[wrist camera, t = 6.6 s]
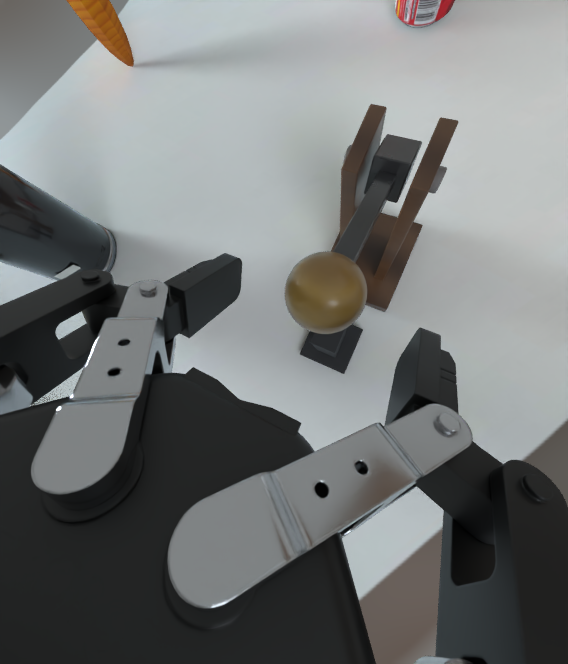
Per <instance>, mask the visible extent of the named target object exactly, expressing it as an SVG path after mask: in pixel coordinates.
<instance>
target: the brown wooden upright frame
mask: <svg viewBox="0 0 568 664" xmlns="http://www.w3.org/2000/svg"><path fill="white" fill-rule="evenodd" d="M385 114H386V107H384V106H378V105H373V104H371V105H370V106H369V109H368V111H367V113H366V115H365V117H364V120H363V122H362V124H361V126H360V129H359V131H358V133H357V135H356V137H355V140H354V142H353V144H352V145H350V146H349V147H348V149H347V151H346V154H345V157H344V161H343V166H342V169H341V210H340V232H339V234H338V236H337V239H336V241H335V243H334V245H333V248H332V250H331V252H333V250H334V249H335V247H336V245H337V243H338V242H339V240H340V238H341V236H342V235H343V233H344V231H345V229H346V228H347V226H348V224H349V222H350V221H351V219H352V217H353V215H354V214H355V212H356V210H357V208H358V207H359V205H360V203H361V201H362V200H363V198H364V196H365V195H366V194H364V191H365V187H366V183H367V179H368V175H369V171H370V168H371V164H372V160H373V156H374V154H375V153H376V151H377V150H378V148H379V145H380V140H381V135H382V129H383V124H384V119H385ZM457 124H458V121H457V120H452V119H446V118H440V119H439V121H438V123H437V126H436V128H435V130H434V133H433V135H432V137H431V140H430V142H429V144H428V147H427V149H426V151H425V154H424V156H423V158H422V160H421V163H420V165H419V167H418V170H417V172H416V174H415V177H414V179H413V181H412V184H411V186H410V188H409V191H408V193H407V196H406V198H405V201H404V203H403V206H402V209H401V211H400V214H399V216H398V218H397V217H393V216H390V215H386V214H383V213H380V215H379V217H378V219H377V221H376V223H375V225H374V227H373V229H372V231H371V233H370V235H369V237H368V239H367V241H366V243H365V245H364V247H363V249H362V251H361V253H360V255H359V257H358V259H357V261H356V264H357V265H358V267H359V268H360V270H361V271H362V273H363V275H364V277H365V280H366V284H367V300H366V304H365V305H367V306H370V307H373V308H375V309H378V310H381V311H383V312H385V311H386V310H387V308H388V306H389V303H390V301H391V299H392V296H393V294H394V291H395V289H396V287H397V284H398V282H399V280H400V277H401V275H402V273H403V270H404V268H405V266H406V263H407V261H408V259H409V256H410V254H411V252H412V249H413V247H414V244H415V242H416V240H417V237H418V235H419V233H420V230H421V228H422V225H421V224H418V223H414V222H413V221H414V219H415V217H416V215H417V213H418V212H419V210H420V208H421V206H422V204H423V202H424V200H425V198H426V196H427V194H428V192H430V193H436V191H437V190H438V188H439V186H440V184H441V182H442V180H443V177H444V175H445V173H446V170H447V168H446V167H443V166H440V164H441V162H442V159H443V157H444V155H445V152H446V150H447V148H448V145H449V143H450V141H451V138H452V136H453V134H454V131H455V129H456V127H457Z"/></svg>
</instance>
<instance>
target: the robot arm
mask: <svg viewBox="0 0 568 664" xmlns="http://www.w3.org/2000/svg"><path fill="white" fill-rule="evenodd" d="M115 256H116V244H115V240H114V238H113V236H112V234H111V233H110V232H109V231H108V230H107V229H106V228H104V227H103V226H101V225H99V224H97V223H95V222H93V221H91V220H90V219H88V218H87V217H85V216H83V215H82V214H80V213H79V212H77V211H75V210H74V209H72V208H71V207H69V206H67V205H66V204H64V203H62V202H61V201H59V200H57V199H56V198H54V197H53V196H51V195H49V194H48V193H46V192H44V191H43V190H41V189H40V188H38V187H36V186H35V185H33V184H31V183H30V182H28V181H26V180H25V179H23V178H22V177H20V176H18V175H17V174H15V173H13V172H12V171H10V170H9V169H7V168H5V167H4V166H2V165H0V262H2V263H5V264H8V265H11V266H14V267H17V268H20V269H23V270H27V271H30V272H33V273H36V274H39V275H42V276H45V277H48V278H51V279H54V280H57V281H56V282H54V283H52V284H49V285H47V286H45V287H42V288H40V289H38V290H35V291H33V292H31V293H29V294H26V295H24V296H22V297H19V298H17V299H15V300H12V301H10V302H8V303H5V304H3V305H1V306H0V664H376V662H375V659H374V655H373V651H372V648H371V644H370V640H369V637H368V633H367V629H366V626H365V622H364V618H363V615H362V611H361V608H360V604H359V600H358V597H357V593H356V589H355V586H354V582H353V578H352V575H351V571H350V567H349V564H348V560H347V556H346V553H345V549H344V545H343V542H342V538H343V537H345V536H346V535H347V534H349V533H350V532H352V531H353V530H355V529H356V528H358V527H359V526H361V525H362V524H363V523H365V522H366V521H368V520H369V519H370V518H372V517H373V516H374V515H376V514H377V513H379V512H380V511H382V510H383V509H385V508H386V507H387V506H389V505H390V504H392V503H393V502H395V501H396V500H398V499H399V498H401V497H402V496H404V495H405V494H407V493H408V492H410V491H411V490H413V489H414V488H415V487H418V488H419V489H421V490H422V491H423V492H424V493H425V494H426V495H427V496H429V497H430V498H431V499H432V500H433V501H434V502H435V503H436V504H438V505H439V506H440V507H441V508H442V509H443V510H444V515H443V533H442V551H441V568H440V569H441V570H440V586H439V603H438V621H437V639H436V656H424V657H422V658H419V659H418V660H417V661H416V662H415V663H414V664H568V507H567V504H566V501H565V499H564V497H563V495H562V494H561V492H560V490H559V489H558V488H557V487H556V485H555V484H554V483H553V482H552V481H551V480H550V479H549V478H548V477H547V476H546V475H545V474H544V473H542V472H541V471H540V470H538V469H537V468H535V467H534V466H532V465H530V464H528V463H526V462H523V461H520V460H510V461H508V462H506V463H504V464H502V463H501V462H499V461H498V460H497V459H495V458H494V457H493V456H491V455H490V454H488V453H487V452H486V451H484V450H483V449H482V448H480V447H479V446H478V445H476V444H475V443H474V442H473V441H472V439H473V438H472V432H471V430H470V427H469V426H468V424H467V423H466V421H465V420H464V419H463V418H462V417H461V416H460V415H459V414H458V398H457V385H456V383H457V381H456V376H455V375H456V365H455V362H454V360H453V359H452V357H451V355H450V353H449V352H446V351H444V350H441V336H440V335H439V334H436V333H434V332H431V331H428V330H426V329H423V328H419V329H418V330H417V331H416V333H415V334H414V336H413V338H412V339H411V341H410V342H409V344H408V345H407V347H406V349H405V350H404V352H403V353H402V355H401V357H400V359H399V361H398V363H397V366H396V369H395V374H394V379H393V384H392V390H391V395H390V400H389V405H388V410H387V416H386V421H385V426H382V424H381V423H375V424H372V425H370V426H368V427H366V428H364V429H362V430H360V431H358V432H355V433H353V434H351V435H349V436H347V437H345V438H343V439H341V440H339V441H336V442H334V443H332V444H330V445H328V446H326V447H324V448H322V449H320V450H317V451H314V450H313V448H312V447H311V446H310V444H309V443H308V442H307V441H306V440H305V438H304V437H303V436H302V435H300V434H299V433H298V431H299V428H300V426H301V423H300V422H298V421H297V420H295V419H293V418H291V417H289V416H287V415H285V414H283V413H281V412H279V411H277V410H275V409H273V408H270V407H266V406H262V405H258V404H254V403H250V402H246V401H242V400H240V399H238V398H237V397H236V396H235V395H234V394H233V393H231V392H230V391H229V390H228V389H227V388H226V387H225V386H224V385H223V384H221V383H220V382H219V381H218V380H217V379H215V378H213V377H211V376H209V375H207V374H205V373H203V372H201V371H199V370H197V369H195V368H192V369H190V370H189V371H188V372H187V373H186V374H180V373H172V368H173V361H174V353H175V345H176V338H175V336H176V335H178V334H179V333H180V334H182V335H184V336H186V337H188V338H190V337H191V336H193V335H194V334H195V333H196V332H198V331H199V330H200V329H201V328H202V327H204V326H205V325H206V324H207V323H208V322H210V321H211V320H212V319H213V318H215V317H216V316H217V315H218V314H219V313H221V312H222V311H223V310H224V309H225V308H227V307H228V306H229V305H230V304H232V303H233V302H234V301H235V300H236V299H237V297H238V296H239V293H240V289H241V273H242V261H241V259H240V258H237V257H234V256H232V255H229V254H226V253H224V254H222V255H220V256H218V257H217V258H215V259H213V260H208V261H203V262H200V263H198V264H197V265H195V266H193V268H192V267H191V268H189V269H187V270H186V271H184V272H182V273H180V274H178V275H177V276H175V277H173V278H171V279H169V280H167V281H166V282H164V283H163V282H160V281H156V280H144V281H139V282H136V283H134V284H132V285H131V286H130V287H127V286H121V285H116V284H114V281H113V278H112V275H111V274H110V273H109V271H110V270H111V268H112V266H113V263H114V260H115ZM81 311H82V313H83V315H84V318H85V320H86V322H87V324H85V325H83V326H81V327H80V328H78V329H76V330H75V331H73V332H71V333H70V334H68V335H66V336H65V337H63V338H61V339H60V340H58V338H57V337H56V334H55V331H56V328H57V326H58V325H59V324H60V323H61V322H63V321H65V320H66V319H68V318H70V317H72V316H74V315H76V314H77V313H79V312H81ZM83 367H84V369H83V371H82V373H81V375H80V378H79V380H78V382H77V385H76V387H75V389H74V391H73V394H72V396H69V397H65V398H62V399H58V400H54V401H50V402H46V403H42V404H39V405H35V406H31V407H29V406H30V405H32V404H33V403H34V402H36V401H37V400H38V399H40V398H41V397H43V396H44V395H45V394H47V393H48V392H50V391H51V390H52V389H54V388H55V387H57V386H58V385H59V384H61V383H62V382H63V381H65V380H66V379H68V378H69V377H70V376H72V375H73V374H75V373H76V372H77V371H79V370H80V369H82V368H83Z"/></svg>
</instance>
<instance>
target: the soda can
mask: <svg viewBox="0 0 568 664" xmlns="http://www.w3.org/2000/svg"><path fill="white" fill-rule="evenodd" d="M454 1H455V0H396V4H395V11H396V14H397V16H398V18H399V19H400V20H401V21H402V22H404V23H405V24H407V25H408V26H411V27H417V28H419V27H425V26H428V25H430V24H432V23H434V22H436V21H438V20H439V19H441V18H442V17H444V16H445V15H446V14H447V13H448V12H449V10H450V9H451V7H452V6H453V3H454Z"/></svg>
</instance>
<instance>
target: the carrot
mask: <svg viewBox="0 0 568 664" xmlns="http://www.w3.org/2000/svg"><path fill="white" fill-rule="evenodd" d="M67 2H68V3H69V4H70V6H71V7H72V8H73V10H74V11H75V12H76V13H77V14H78V16H79V17H80V19H81V20H82V21H83V22H84V24H85V25H86V26H87V28H88V29H89V30H90V31H91V32H92V33H93V34H94V36H95V37H96V38H97V39H98V40H99V41H100V42H101V43H102V44H103V45H104V46H105V47H106V48H107V49H108V51H109V52H111V53H112V54H113V55H114V56H115V57H117V58H118V59H119V60H120V61H122V62H123V63H125V64H126V65H128V66H133V64H134V60H133V56H132V51H131V47H130V44H129V41H128V38H127V36H126V33H125V31H124V29H123V27H122V24H121V22H120V20H119V18H118V16H117V14H116V12H115V10H114V8H113V6H112V4H111V2H110V1H109V0H67Z"/></svg>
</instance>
